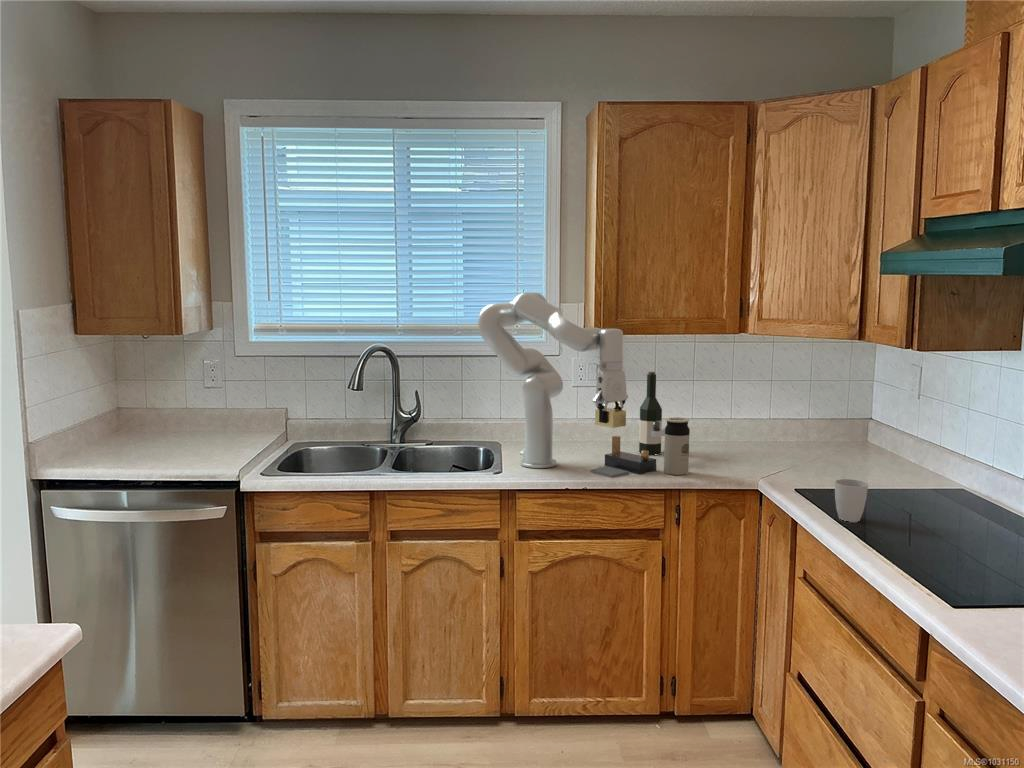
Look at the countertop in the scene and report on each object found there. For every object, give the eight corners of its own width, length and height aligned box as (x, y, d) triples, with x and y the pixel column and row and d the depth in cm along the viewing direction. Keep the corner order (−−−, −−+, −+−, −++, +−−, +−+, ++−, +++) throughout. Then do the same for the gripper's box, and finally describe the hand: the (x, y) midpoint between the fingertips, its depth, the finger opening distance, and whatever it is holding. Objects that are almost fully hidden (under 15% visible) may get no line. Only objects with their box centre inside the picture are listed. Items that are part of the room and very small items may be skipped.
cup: (857, 515, 217) (859, 478, 216) (871, 524, 209) (873, 486, 208) (827, 515, 217) (829, 479, 215) (840, 524, 209) (843, 486, 207)
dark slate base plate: (604, 465, 275) (605, 437, 274) (620, 462, 280) (621, 434, 279) (639, 474, 263) (640, 444, 261) (656, 470, 268) (656, 441, 266)
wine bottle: (635, 454, 294) (636, 372, 290) (642, 449, 301) (644, 370, 297) (657, 456, 290) (659, 373, 286) (664, 452, 297) (666, 371, 294)
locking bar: (650, 436, 278) (650, 422, 278) (680, 430, 288) (680, 417, 288) (655, 437, 276) (656, 423, 276) (685, 431, 286) (685, 418, 286)
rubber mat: (590, 471, 266) (590, 469, 266) (606, 468, 271) (606, 466, 271) (612, 477, 259) (612, 475, 259) (628, 473, 264) (628, 471, 264)
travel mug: (658, 471, 267) (660, 418, 265) (678, 469, 270) (680, 416, 268) (673, 476, 260) (674, 421, 257) (693, 474, 263) (694, 420, 261)
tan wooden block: (595, 424, 264) (595, 409, 263) (607, 422, 268) (608, 407, 267) (613, 427, 258) (613, 412, 257) (625, 425, 262) (625, 410, 261)
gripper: (600, 369, 252) (600, 426, 254) (637, 365, 263) (636, 420, 265) (583, 367, 258) (583, 423, 260) (620, 364, 269) (620, 417, 271)
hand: (610, 420), depth 263 cm, fingers closed on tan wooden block, 6 cm apart
